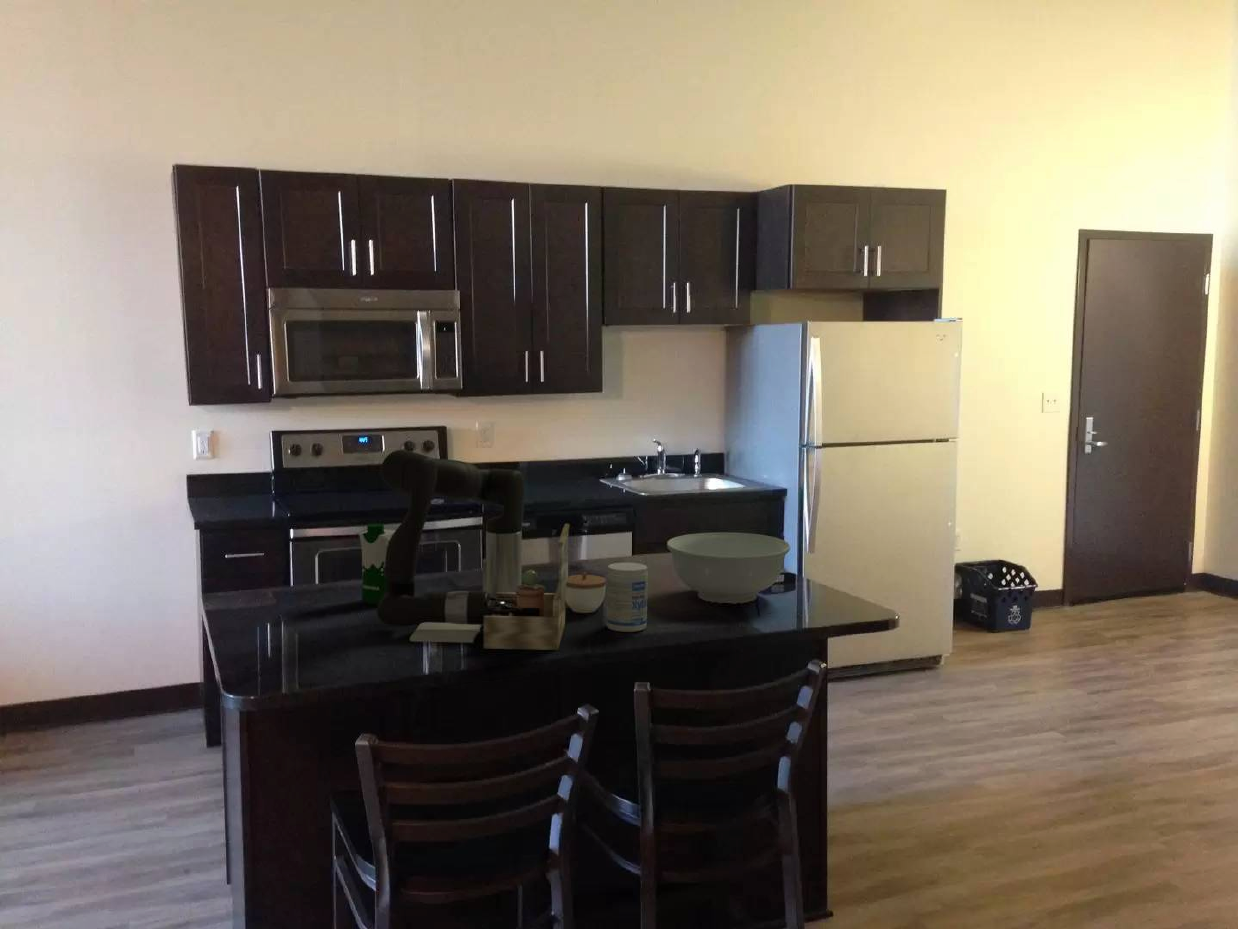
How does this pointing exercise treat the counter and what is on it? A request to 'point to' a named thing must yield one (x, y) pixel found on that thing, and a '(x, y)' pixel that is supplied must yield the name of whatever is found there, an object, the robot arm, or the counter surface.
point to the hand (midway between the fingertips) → (541, 609)
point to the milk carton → (374, 562)
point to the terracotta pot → (530, 592)
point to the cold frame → (533, 629)
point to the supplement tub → (627, 597)
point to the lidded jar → (585, 592)
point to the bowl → (728, 564)
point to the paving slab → (445, 632)
